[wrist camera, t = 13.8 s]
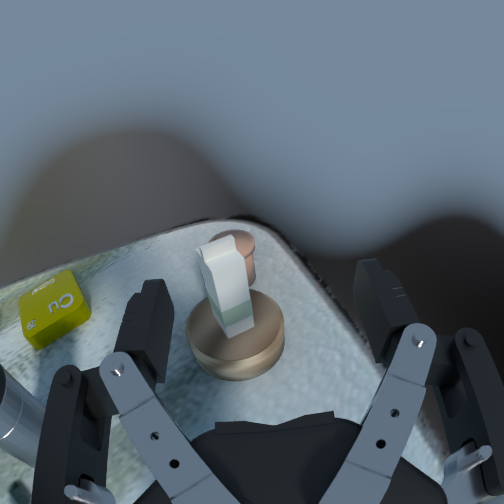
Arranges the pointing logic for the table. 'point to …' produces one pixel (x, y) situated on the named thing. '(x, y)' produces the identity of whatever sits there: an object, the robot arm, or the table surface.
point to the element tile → (52, 310)
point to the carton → (226, 285)
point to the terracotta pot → (242, 249)
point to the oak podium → (237, 340)
